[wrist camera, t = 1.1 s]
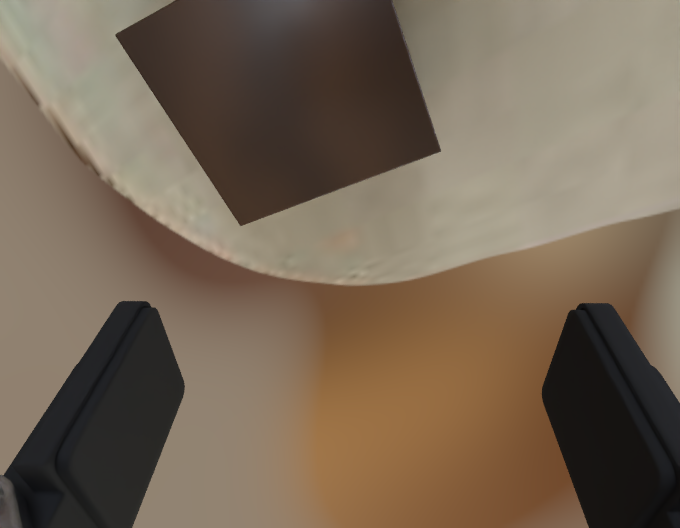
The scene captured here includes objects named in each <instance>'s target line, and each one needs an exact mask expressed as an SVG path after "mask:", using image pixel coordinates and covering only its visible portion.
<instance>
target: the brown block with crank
mask: <svg viewBox="0 0 680 528" xmlns="http://www.w3.org/2000/svg"><path fill="white" fill-rule="evenodd" d="M116 37H117V39H118V40H119V42H120V43H121V45H122V46H123V48H124V49H125V51H126V53H127V54H128V56H129V57H130V59H131V60H132V62H133V63H134V65H135V66H136V68H137V69H138V71H139V72H140V74H141V75H142V77H143V78H144V80H145V81H146V83H147V84H148V86H149V88H150V89H151V91H152V92H153V94H154V95H155V97H156V98H157V100H158V101H159V103H160V104H161V106H162V107H163V109H164V110H165V112H166V113H167V115H168V116H169V118H170V119H171V121H172V122H173V124H174V126H175V127H176V129H177V130H178V132H179V133H180V135H181V136H182V138H183V139H184V141H185V142H186V144H187V145H188V147H189V148H190V150H191V151H192V153H193V154H194V156H195V157H196V159H197V161H198V162H199V164H200V165H201V167H202V168H203V170H204V171H205V173H206V174H207V176H208V177H209V179H210V180H211V182H212V183H213V185H214V186H215V188H216V189H217V191H218V192H219V194H220V196H221V197H222V199H223V200H224V202H225V203H226V205H227V206H228V208H229V209H230V211H231V212H232V214H233V215H234V217H235V218H236V220H237V221H238V223H239V224H240V226H242V225H245V224H248V223H250V222H253V221H256V220H258V219H261V218H264V217H266V216H269V215H272V214H274V213H277V212H280V211H283V210H285V209H288V208H291V207H293V206H296V205H299V204H301V203H304V202H307V201H310V200H312V199H315V198H318V197H320V196H323V195H326V194H328V193H331V192H334V191H336V190H339V189H342V188H345V187H347V186H350V185H353V184H355V183H358V182H361V181H363V180H366V179H369V178H371V177H374V176H377V175H380V174H382V173H385V172H388V171H390V170H393V169H396V168H398V167H401V166H404V165H407V164H409V163H412V162H415V161H417V160H420V159H423V158H425V157H428V156H431V155H433V154H436V153H439V152H441V149H440V146H439V143H438V140H437V137H436V134H435V130H434V127H433V124H432V121H431V118H430V115H429V112H428V109H427V106H426V103H425V100H424V97H423V94H422V90H421V87H420V84H419V81H418V78H417V75H416V72H415V69H414V66H413V63H412V60H411V57H410V54H409V50H408V47H407V44H406V41H405V38H404V35H403V32H402V29H401V26H400V23H399V20H398V17H397V14H396V10H395V7H394V4H393V1H392V0H176V1H174V2H172V3H171V4H169V5H167V6H165V7H163V8H162V9H160V10H158V11H156V12H155V13H153V14H151V15H149V16H147V17H146V18H144V19H142V20H140V21H138V22H137V23H135V24H133V25H131V26H129V27H128V28H126V29H124V30H122V31H121V32H119V33H117V34H116Z"/></svg>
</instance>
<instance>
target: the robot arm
mask: <svg viewBox="0 0 680 528" xmlns="http://www.w3.org/2000/svg"><path fill="white" fill-rule="evenodd" d="M184 387H185V386H184V380H183V378H182V375H181V372H180V369H179V367H178V364H177V361H176V359H175V356H174V353H173V350H172V348H171V345H170V342H169V340H168V337H167V334H166V332H165V329H164V326H163V323H162V321H161V318H160V315H159V313H158V310H157V309H156V308H151V306H150V304H149V303H148V302H146V301H122V302H119V303H118V304H117V306H116V307H115V309H114V310H113V312H112V313H111V315H110V317H109V318H108V319H107V321H106V322H105V324H104V325H103V327H102V328H101V330H100V332H99V333H98V335H97V336H96V338H95V339H94V341H93V342H92V344H91V345H90V347H89V348H88V350H87V351H86V353H85V354H84V356H83V357H82V359H81V360H80V362H79V363H78V364H77V365H76V366H75V368H74V369H73V371H72V372H71V374H70V375H69V377H68V378H67V380H66V381H65V383H64V384H63V386H62V387H61V389H60V390H59V392H58V393H57V395H56V397H55V398H54V400H53V401H52V403H51V404H50V406H49V407H48V409H47V410H46V412H45V413H44V415H43V416H42V418H41V419H40V421H39V422H38V424H37V425H36V427H35V428H34V430H33V431H32V433H31V434H30V436H29V437H28V439H27V441H26V442H25V443H24V445H23V447H22V448H21V450H20V451H19V453H18V454H17V456H16V457H15V459H14V460H13V462H12V464H11V465H10V466H9V468H8V469H7V471H6V473H5V474H4V475H0V528H132V526H133V524H134V521H135V519H136V516H137V514H138V511H139V508H140V506H141V503H142V500H143V498H144V496H145V493H146V491H147V488H148V485H149V482H150V480H151V477H152V475H153V473H154V470H155V467H156V465H157V462H158V459H159V457H160V455H161V452H162V449H163V447H164V444H165V442H166V439H167V437H168V434H169V431H170V429H171V426H172V423H173V421H174V419H175V416H176V414H177V411H178V408H179V406H180V403H181V400H182V398H183V395H184ZM542 399H543V403H544V406H545V409H546V412H547V414H548V417H549V420H550V422H551V425H552V428H553V430H554V433H555V436H556V439H557V441H558V444H559V447H560V450H561V452H562V455H563V458H564V461H565V463H566V466H567V469H568V472H569V474H570V477H571V480H572V483H573V485H574V488H575V491H576V493H577V496H578V499H579V502H580V504H581V507H582V510H583V513H584V515H585V518H586V520H587V523H588V526H589V528H680V403H679V401H678V400H677V398H676V397H675V395H674V394H673V392H672V391H671V389H670V387H669V386H668V384H667V383H666V381H665V380H664V378H663V377H662V375H661V374H660V373H659V372H658V370H657V369H656V368H655V367H653V366H651V365H650V363H649V362H648V360H647V359H646V357H645V355H644V354H643V352H642V351H641V350H640V348H639V346H638V345H637V343H636V341H635V340H634V338H633V337H632V335H631V334H630V332H629V331H628V329H627V327H626V326H625V324H624V323H623V321H622V320H621V318H620V316H619V315H618V313H617V312H616V310H615V309H614V308H613V306H612V305H610V304H608V303H582V304H579V305H578V307H577V308H576V310H571V311H570V312H569V313H568V316H567V319H566V322H565V324H564V327H563V330H562V333H561V336H560V339H559V341H558V344H557V347H556V350H555V353H554V356H553V358H552V362H551V364H550V368H549V370H548V373H547V376H546V378H545V381H544V384H543V387H542Z"/></svg>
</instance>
